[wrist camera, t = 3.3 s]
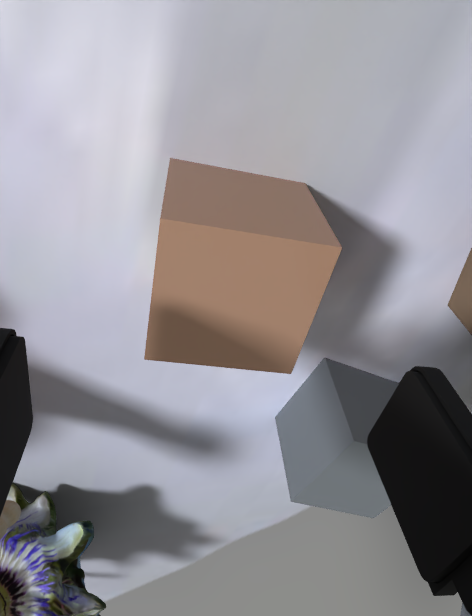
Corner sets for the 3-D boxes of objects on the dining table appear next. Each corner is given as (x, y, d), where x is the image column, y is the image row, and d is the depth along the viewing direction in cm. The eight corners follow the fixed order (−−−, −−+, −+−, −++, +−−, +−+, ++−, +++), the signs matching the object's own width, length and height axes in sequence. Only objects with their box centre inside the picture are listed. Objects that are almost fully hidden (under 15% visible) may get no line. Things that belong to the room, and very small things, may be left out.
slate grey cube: (399, 382, 23) (442, 464, 19) (345, 435, 25) (373, 518, 21) (324, 356, 21) (354, 440, 17) (274, 416, 24) (291, 501, 20)
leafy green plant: (39, 419, 30) (65, 513, 20) (123, 509, 35) (179, 624, 24) (-121, 539, 26) (-188, 731, 16) (-4, 623, 31) (1, 815, 21)
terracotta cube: (304, 182, 16) (342, 247, 12) (270, 291, 18) (291, 373, 14) (170, 157, 15) (160, 218, 11) (156, 276, 18) (144, 359, 14)
